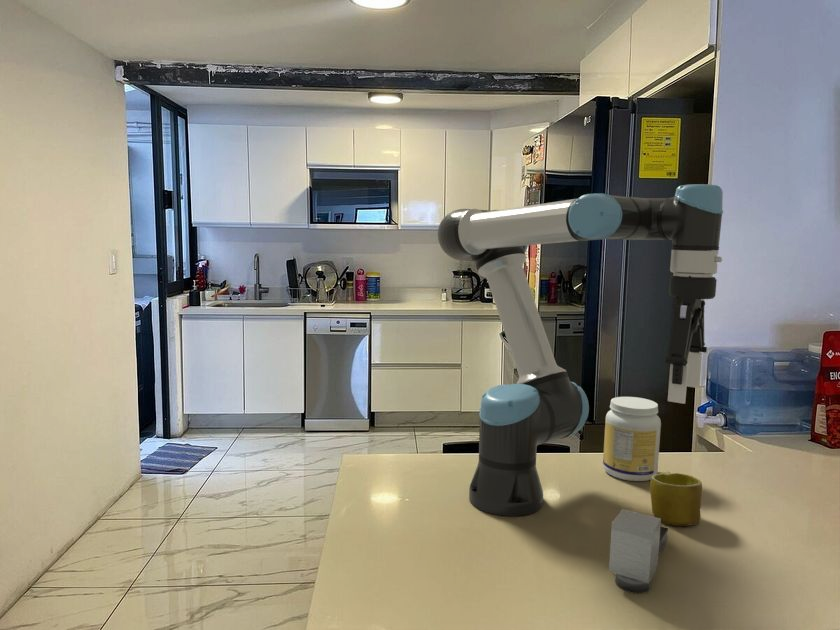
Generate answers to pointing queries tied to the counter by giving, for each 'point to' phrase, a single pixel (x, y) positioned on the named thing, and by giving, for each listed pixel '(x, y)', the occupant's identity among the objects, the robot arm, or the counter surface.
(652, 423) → the supplement tub
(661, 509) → the mug
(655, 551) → the grey block
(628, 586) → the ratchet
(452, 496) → the counter surface
